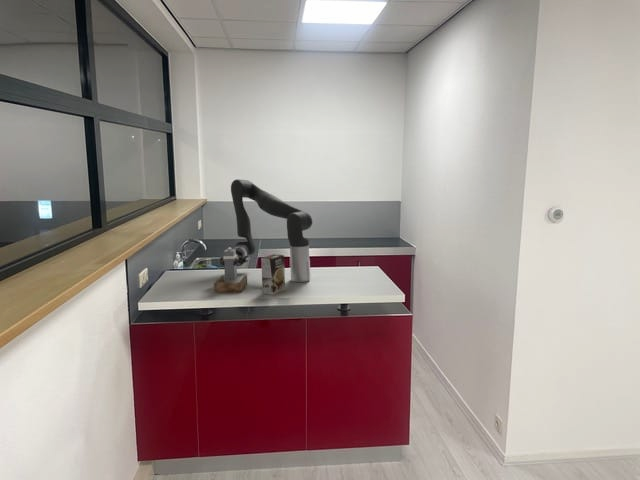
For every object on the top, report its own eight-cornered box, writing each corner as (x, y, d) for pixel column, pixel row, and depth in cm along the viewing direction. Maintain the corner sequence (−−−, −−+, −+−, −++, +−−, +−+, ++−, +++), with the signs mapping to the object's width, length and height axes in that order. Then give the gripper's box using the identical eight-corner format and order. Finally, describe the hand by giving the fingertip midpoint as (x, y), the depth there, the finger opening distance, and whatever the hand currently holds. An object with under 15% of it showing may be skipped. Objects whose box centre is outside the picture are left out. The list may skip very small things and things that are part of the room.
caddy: (247, 284, 211) (247, 275, 211) (241, 292, 199) (240, 282, 198) (222, 284, 212) (222, 275, 211) (214, 292, 199) (214, 283, 198)
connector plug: (237, 276, 208) (235, 246, 205) (235, 279, 203) (233, 248, 201) (227, 276, 208) (225, 246, 206) (224, 279, 203) (222, 248, 201)
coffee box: (273, 295, 194) (272, 258, 191) (262, 293, 197) (260, 257, 194) (286, 289, 201) (284, 254, 199) (274, 288, 205) (273, 253, 202)
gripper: (222, 247, 218) (212, 255, 201) (251, 247, 217) (244, 255, 200) (223, 262, 219) (213, 271, 203) (252, 262, 219) (244, 271, 202)
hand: (228, 263), depth 202 cm, fingers closed on connector plug, 4 cm apart
